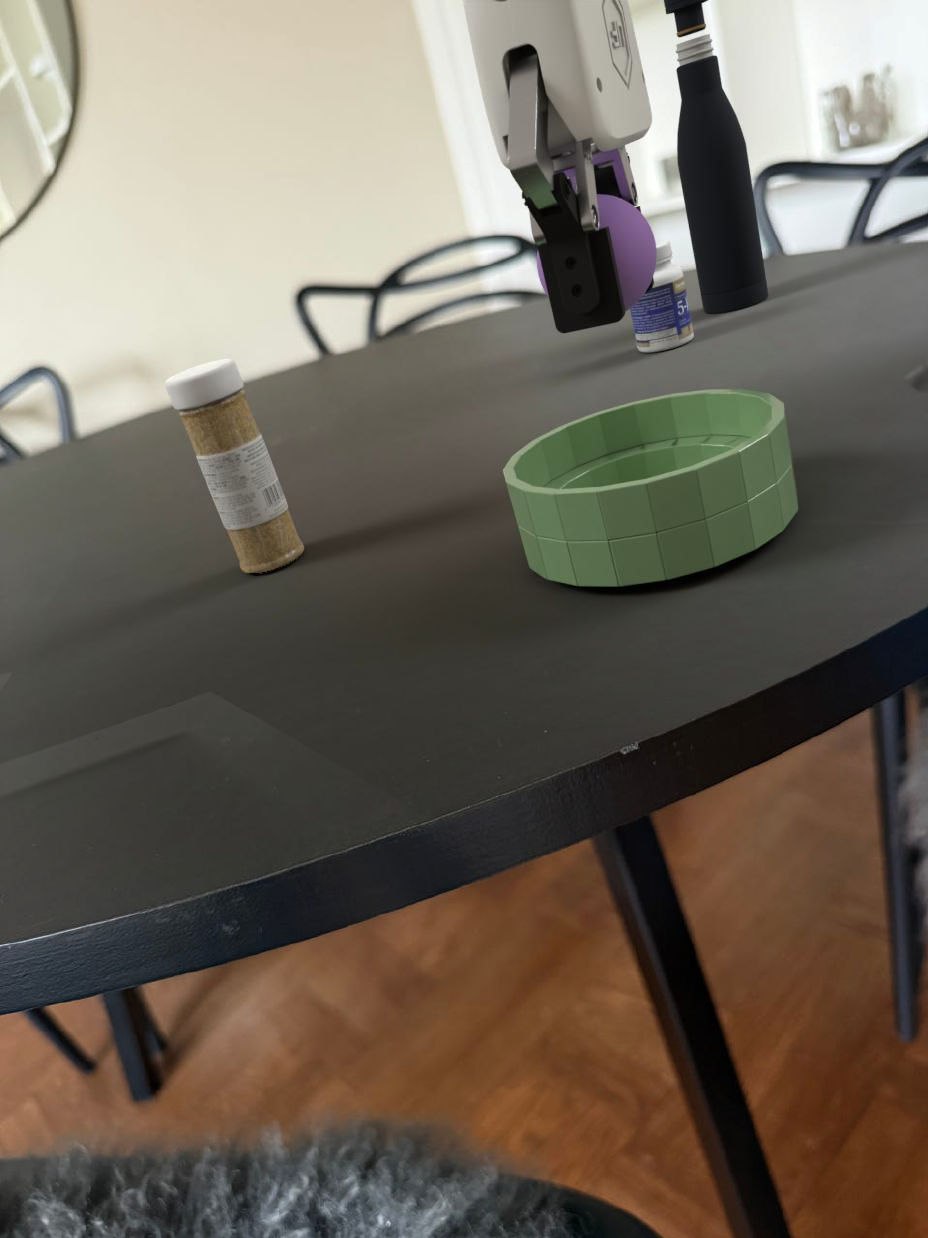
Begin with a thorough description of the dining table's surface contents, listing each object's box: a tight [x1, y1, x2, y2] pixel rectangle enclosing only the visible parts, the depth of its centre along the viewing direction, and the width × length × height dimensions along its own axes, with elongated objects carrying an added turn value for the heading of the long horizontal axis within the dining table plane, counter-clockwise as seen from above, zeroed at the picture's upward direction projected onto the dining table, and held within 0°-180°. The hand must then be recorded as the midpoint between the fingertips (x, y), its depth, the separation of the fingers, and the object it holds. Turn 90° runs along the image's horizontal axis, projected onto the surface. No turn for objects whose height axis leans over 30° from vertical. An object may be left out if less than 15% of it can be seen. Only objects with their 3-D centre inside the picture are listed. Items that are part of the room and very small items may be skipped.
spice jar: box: [164, 358, 305, 574], centre depth 64 cm, size 5×5×13 cm
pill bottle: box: [629, 240, 695, 354], centre depth 91 cm, size 5×5×9 cm
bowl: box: [502, 388, 799, 588], centre depth 51 cm, size 14×14×6 cm
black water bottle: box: [663, 0, 769, 315], centre depth 94 cm, size 6×6×30 cm
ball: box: [536, 194, 657, 313], centre depth 47 cm, size 6×6×6 cm
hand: (607, 306), depth 48 cm, fingers closed on ball, 5 cm apart
